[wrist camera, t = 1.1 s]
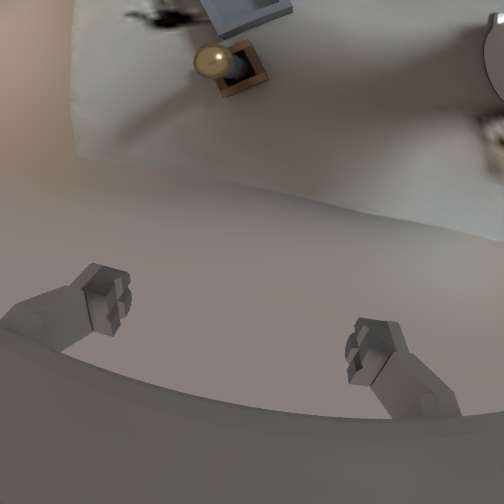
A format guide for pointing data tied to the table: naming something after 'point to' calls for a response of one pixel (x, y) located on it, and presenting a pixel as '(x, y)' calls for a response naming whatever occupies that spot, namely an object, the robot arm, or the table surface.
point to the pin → (219, 63)
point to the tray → (243, 14)
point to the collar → (259, 78)
